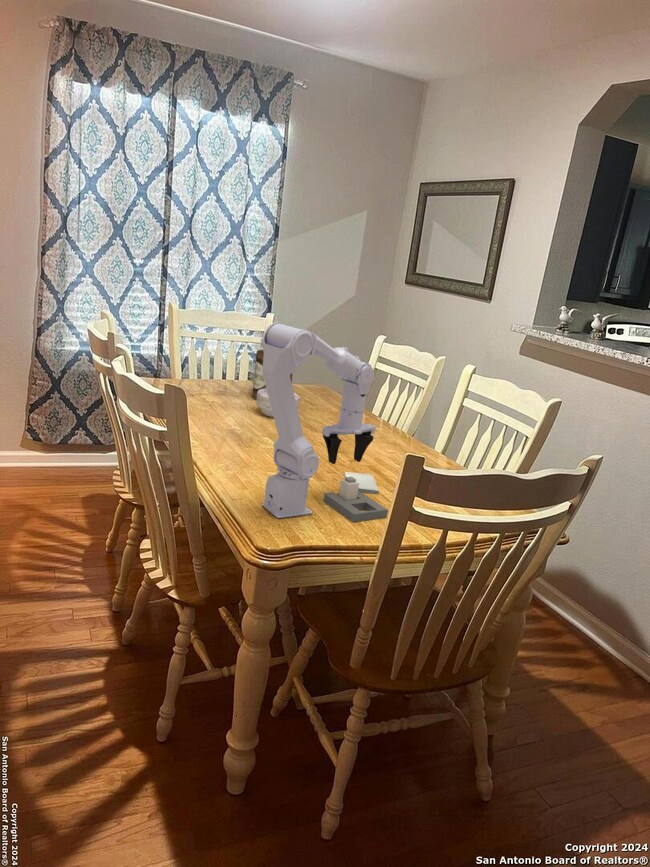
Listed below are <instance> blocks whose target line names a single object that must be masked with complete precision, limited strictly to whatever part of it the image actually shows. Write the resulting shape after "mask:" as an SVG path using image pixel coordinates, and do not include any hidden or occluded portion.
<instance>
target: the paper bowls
mask: <svg viewBox="0 0 650 867" xmlns="http://www.w3.org/2000/svg"><path fill="white" fill-rule="evenodd" d="M294 396H295V401H296V405H297V409H298V410H299V405H300V399H301V396H300V395H299V394H298V393H296V392H294ZM255 401H256V406H257V407H258V408H260V410H261V412H262V414H263V415H265V416H267V417H268V418H269V417H271V418H274V416H273V412H272V409H271V405H270V401H269V397H268V393H267V389H260V390H259V391H258V392H257V400H255Z"/></svg>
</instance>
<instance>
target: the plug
mask: <svg viewBox="0 0 650 867" xmlns="http://www.w3.org/2000/svg"><path fill="white" fill-rule="evenodd" d="M358 487H359V483H358V482H356V479H355V478H353V477H344V479H341V480H340V486H339V491H338V492H339V497H341V498H342V499H344V500H353V499H357V494H358Z"/></svg>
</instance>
